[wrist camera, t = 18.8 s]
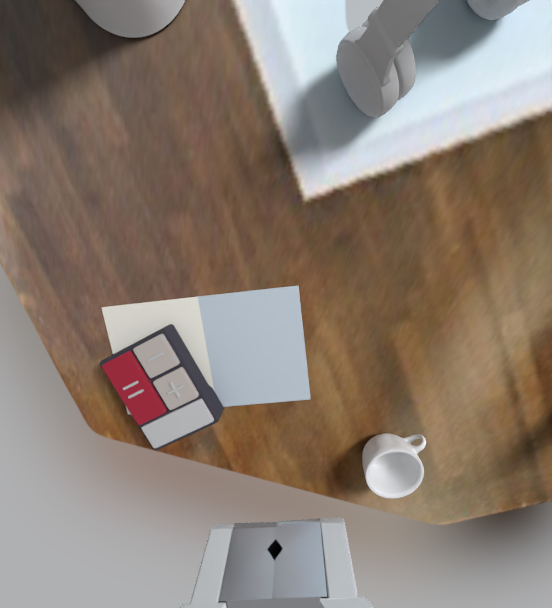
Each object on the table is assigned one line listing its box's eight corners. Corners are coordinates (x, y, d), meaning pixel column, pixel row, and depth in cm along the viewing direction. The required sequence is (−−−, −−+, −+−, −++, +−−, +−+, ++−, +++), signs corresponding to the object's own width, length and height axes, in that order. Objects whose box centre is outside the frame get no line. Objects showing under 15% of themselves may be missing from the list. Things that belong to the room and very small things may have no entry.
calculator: (161, 329, 42) (218, 424, 44) (174, 321, 46) (225, 408, 48) (94, 364, 44) (151, 455, 45) (112, 354, 48) (164, 437, 50)
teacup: (380, 479, 50) (390, 508, 45) (346, 447, 49) (353, 473, 44) (432, 440, 48) (449, 466, 43) (398, 406, 47) (412, 428, 42)
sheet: (102, 307, 46) (101, 307, 46) (298, 285, 44) (298, 285, 43) (128, 414, 49) (127, 414, 49) (310, 398, 47) (310, 399, 47)
